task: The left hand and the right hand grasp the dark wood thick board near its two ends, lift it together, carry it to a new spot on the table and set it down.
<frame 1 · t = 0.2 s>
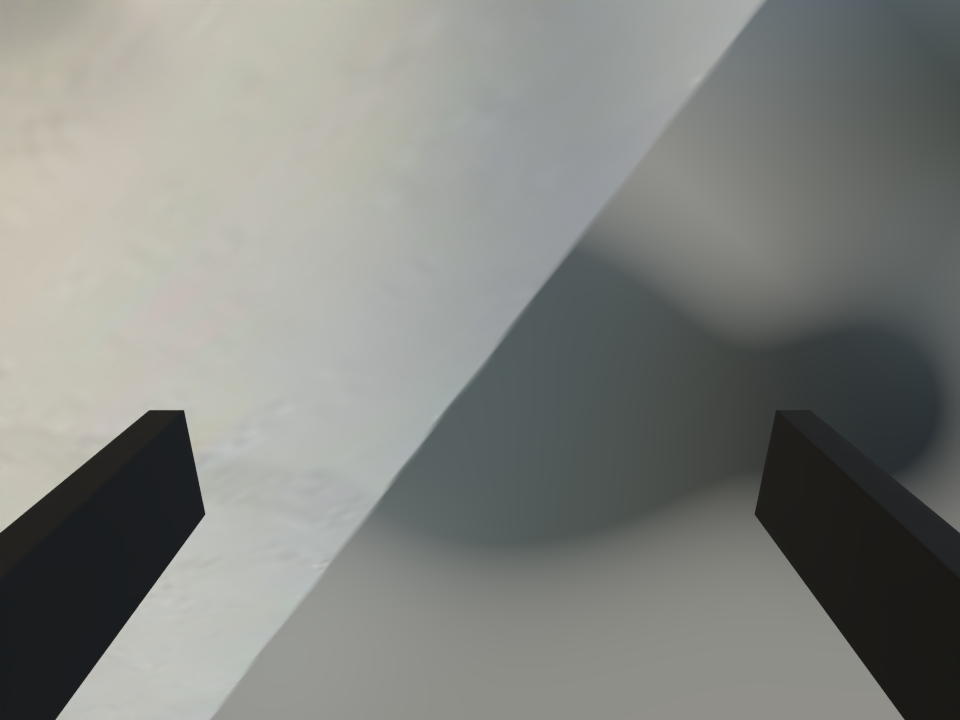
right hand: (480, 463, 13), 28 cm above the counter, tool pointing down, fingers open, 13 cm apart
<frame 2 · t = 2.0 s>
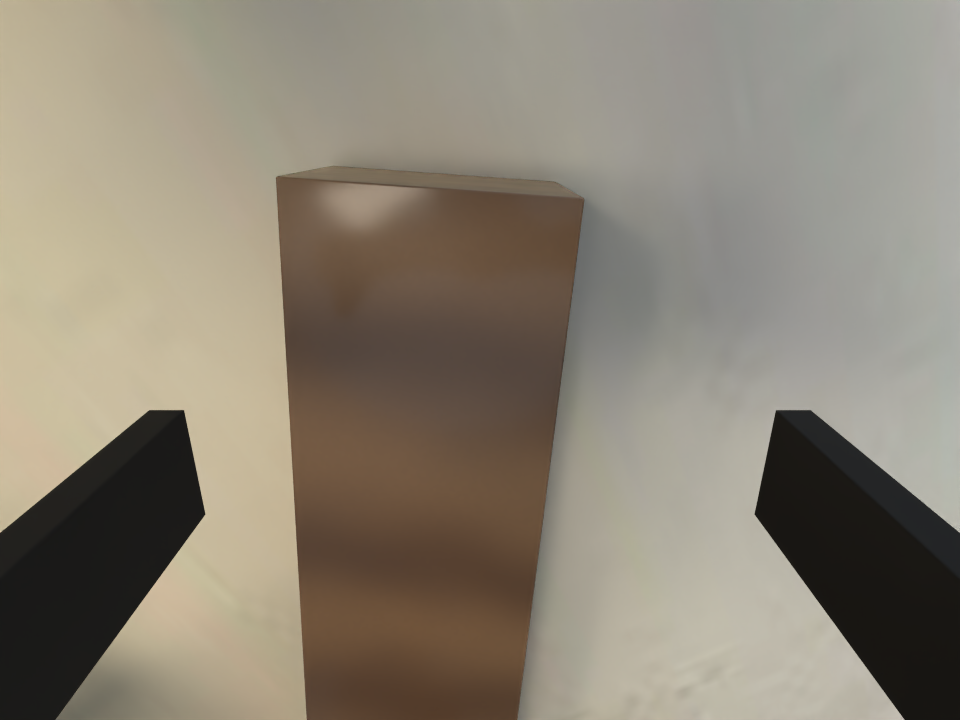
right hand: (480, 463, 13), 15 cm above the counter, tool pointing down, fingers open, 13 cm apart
thick board: (421, 709, 37), on the counter
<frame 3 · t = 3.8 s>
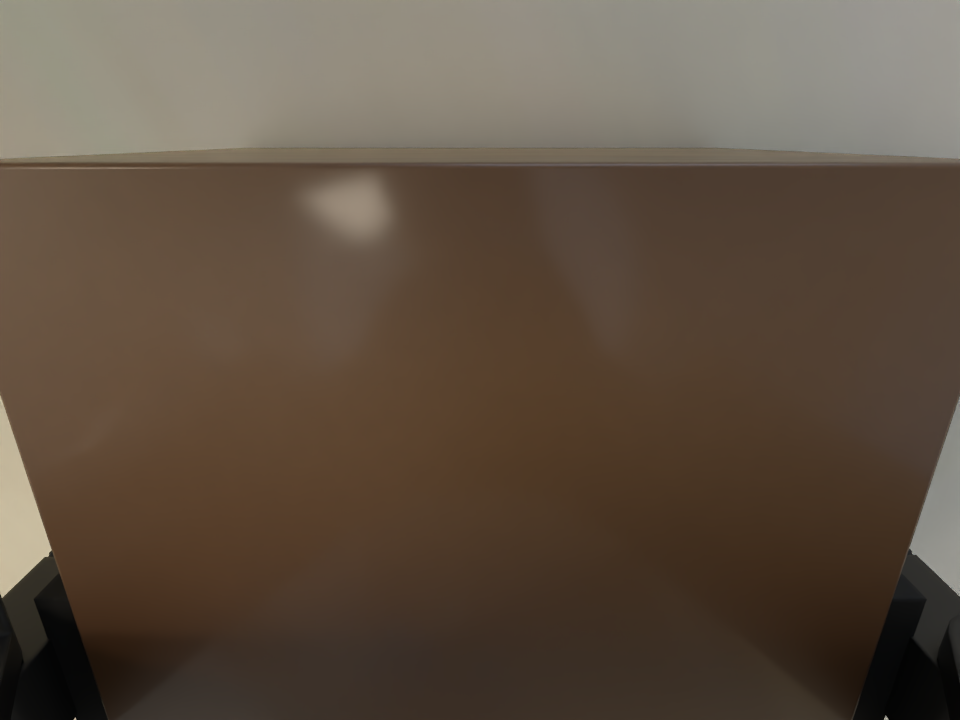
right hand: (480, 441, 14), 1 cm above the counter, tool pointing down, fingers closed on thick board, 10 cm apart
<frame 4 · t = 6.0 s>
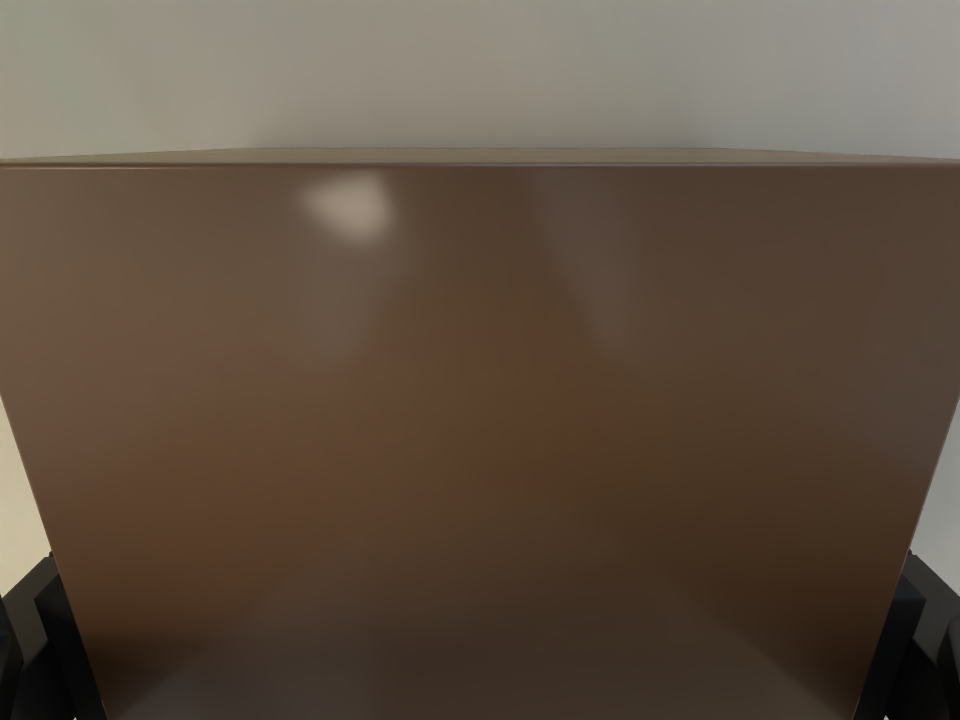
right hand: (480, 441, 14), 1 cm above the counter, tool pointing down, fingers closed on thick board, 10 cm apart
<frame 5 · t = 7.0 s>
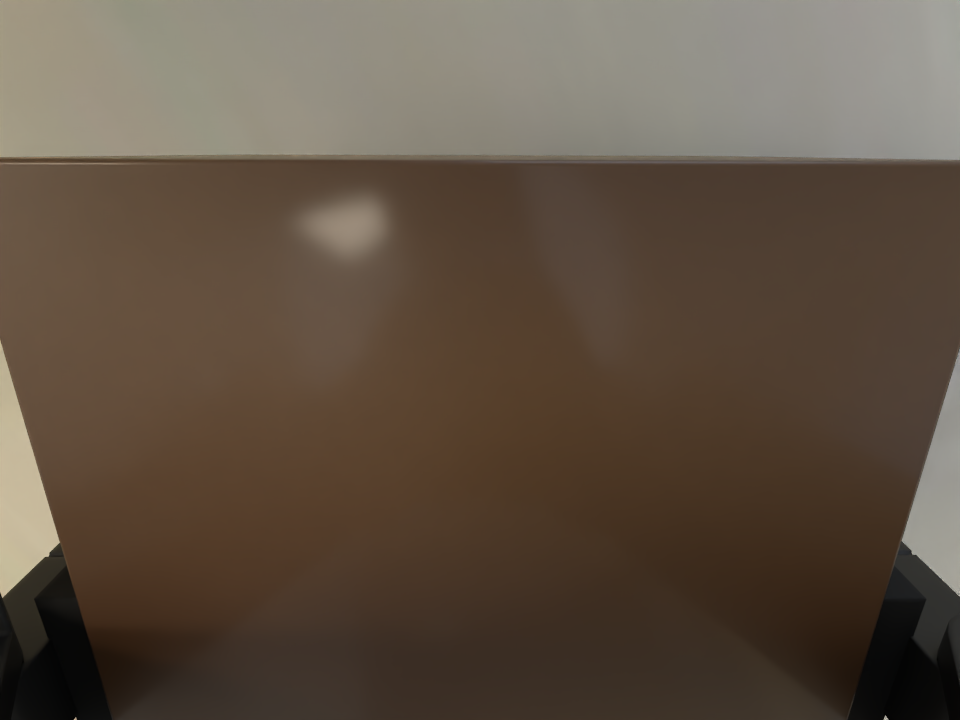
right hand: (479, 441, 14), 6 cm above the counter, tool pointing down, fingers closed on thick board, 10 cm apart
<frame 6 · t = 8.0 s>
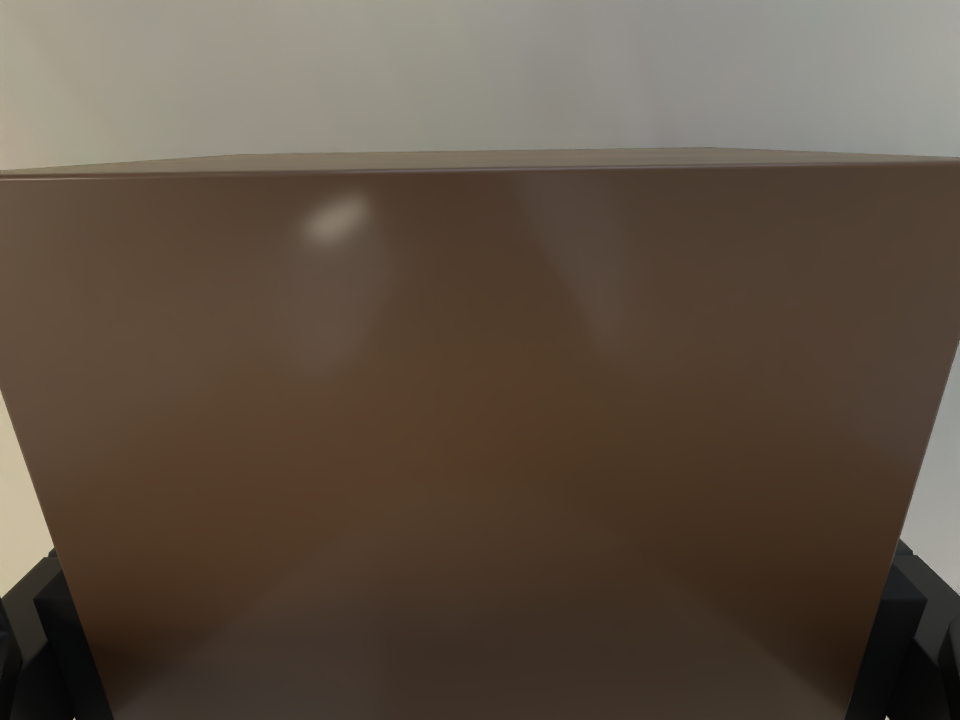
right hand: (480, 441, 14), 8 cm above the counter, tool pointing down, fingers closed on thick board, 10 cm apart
when the left hand's fingers open (1 cm above the counter, at t = 10.2 s): thick board stays where it is, on the counter.
when the right hand's fingers open (1 cm above the counter, at t = 10.2 s): thick board stays where it is, on the counter.
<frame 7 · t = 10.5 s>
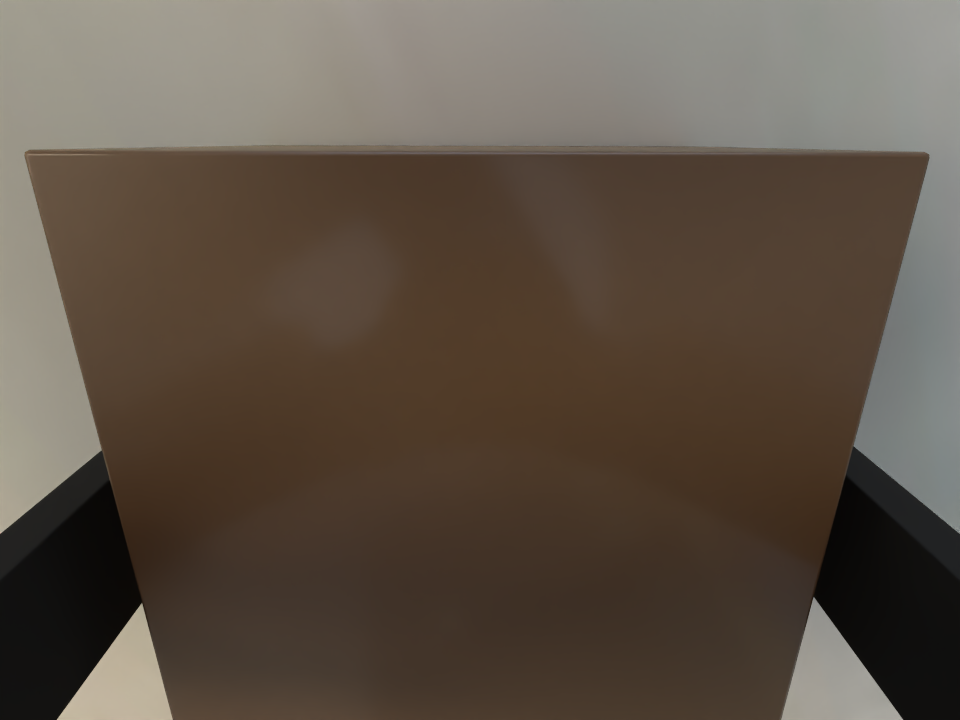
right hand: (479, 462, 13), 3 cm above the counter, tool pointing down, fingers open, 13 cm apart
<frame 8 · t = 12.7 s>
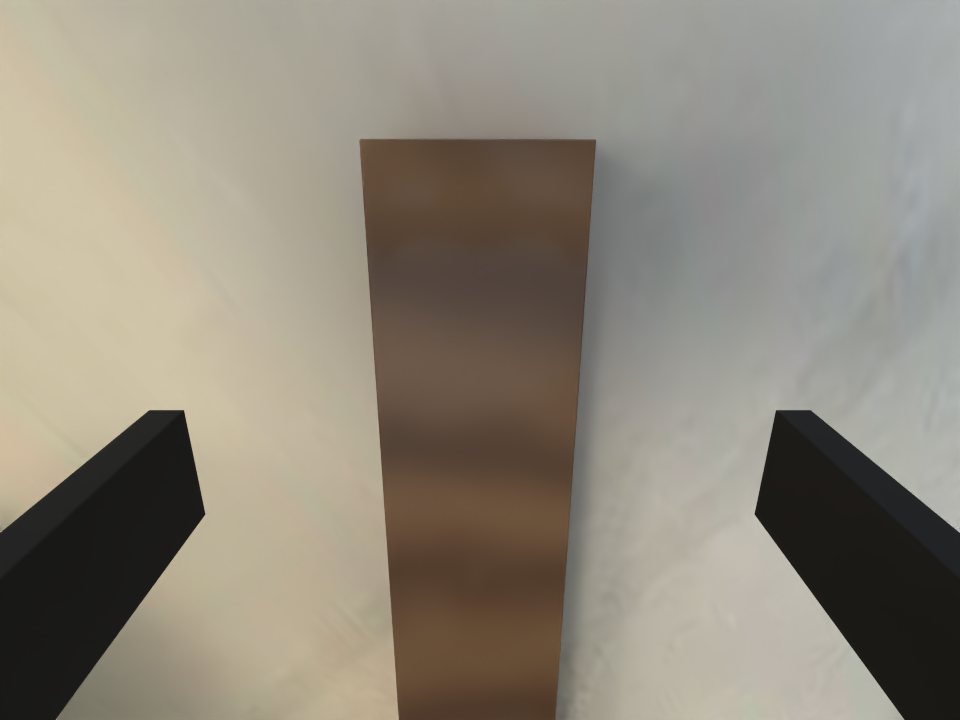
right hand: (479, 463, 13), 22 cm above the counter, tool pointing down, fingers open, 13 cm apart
thick board: (477, 614, 43), on the counter
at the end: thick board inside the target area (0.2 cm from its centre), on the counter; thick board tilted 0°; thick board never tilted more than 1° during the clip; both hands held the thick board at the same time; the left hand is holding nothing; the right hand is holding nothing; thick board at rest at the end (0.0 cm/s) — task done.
